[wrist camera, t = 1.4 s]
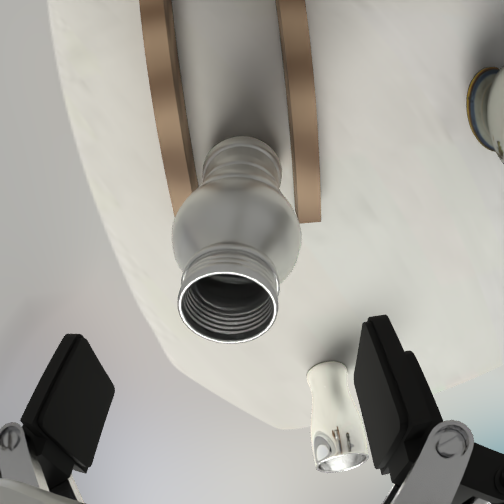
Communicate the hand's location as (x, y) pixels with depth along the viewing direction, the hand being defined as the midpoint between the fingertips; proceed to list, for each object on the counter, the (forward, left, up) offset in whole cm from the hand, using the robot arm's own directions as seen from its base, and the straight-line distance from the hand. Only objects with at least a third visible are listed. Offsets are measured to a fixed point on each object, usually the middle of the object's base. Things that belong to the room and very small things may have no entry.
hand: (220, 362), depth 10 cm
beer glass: (+31, +9, -22) cm, 39 cm away
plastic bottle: (0, 0, -22) cm, 22 cm away
